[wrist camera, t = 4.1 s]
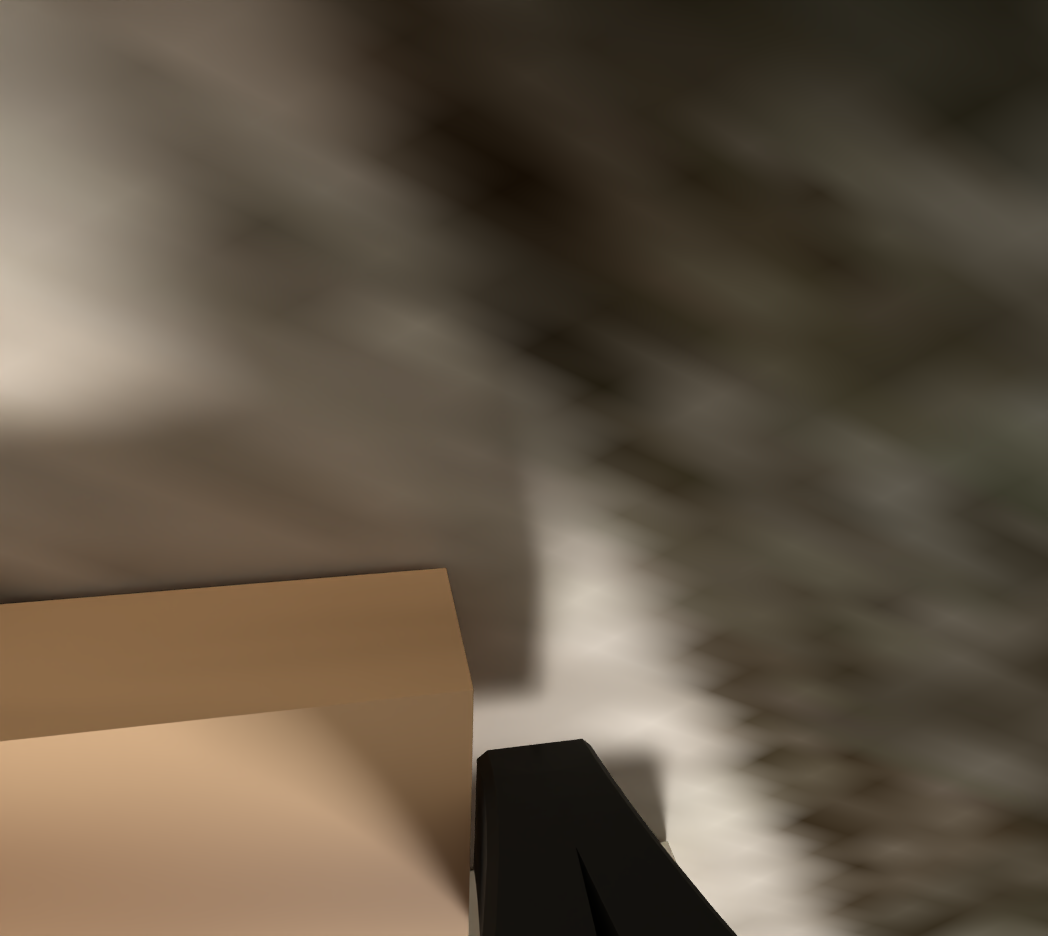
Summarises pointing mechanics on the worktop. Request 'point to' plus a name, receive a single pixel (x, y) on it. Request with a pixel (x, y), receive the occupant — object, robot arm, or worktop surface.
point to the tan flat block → (237, 761)
